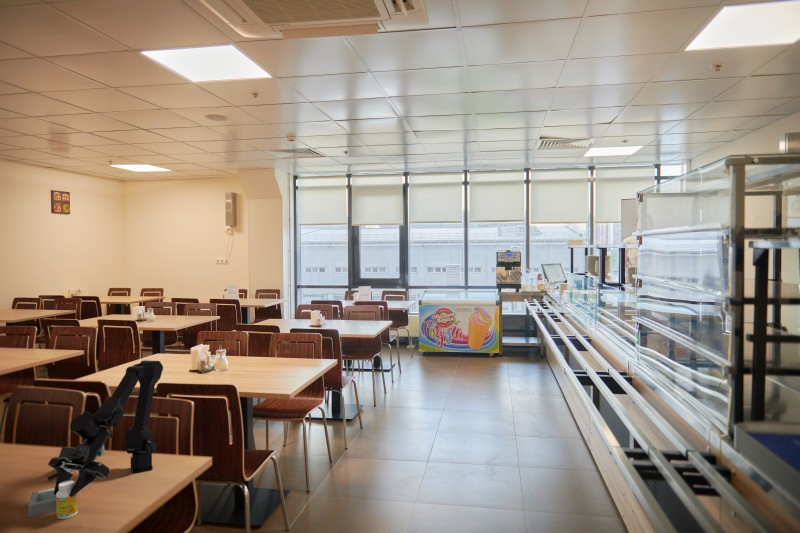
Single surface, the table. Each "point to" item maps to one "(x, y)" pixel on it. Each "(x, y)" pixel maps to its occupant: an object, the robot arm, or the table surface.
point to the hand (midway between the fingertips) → (62, 495)
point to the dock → (42, 502)
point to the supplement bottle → (66, 500)
